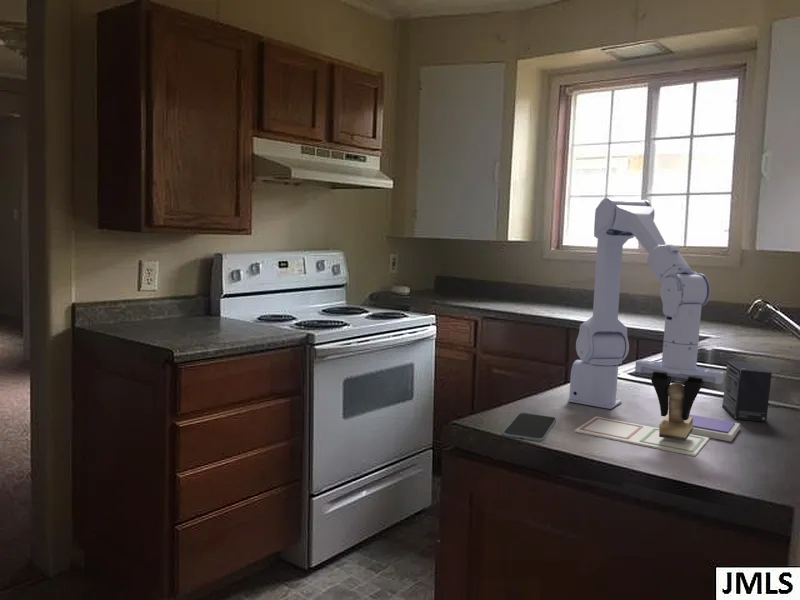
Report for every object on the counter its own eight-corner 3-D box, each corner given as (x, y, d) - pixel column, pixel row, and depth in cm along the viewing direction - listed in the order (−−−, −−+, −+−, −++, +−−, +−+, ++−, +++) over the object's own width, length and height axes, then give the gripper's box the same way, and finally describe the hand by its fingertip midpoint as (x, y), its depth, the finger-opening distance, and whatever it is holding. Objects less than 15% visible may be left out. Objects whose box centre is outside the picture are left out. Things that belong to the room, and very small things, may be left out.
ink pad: (673, 430, 130) (674, 423, 130) (684, 419, 138) (685, 412, 138) (731, 441, 125) (731, 433, 125) (739, 429, 133) (740, 422, 132)
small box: (769, 423, 138) (774, 371, 137) (734, 420, 140) (739, 369, 138) (753, 409, 149) (758, 361, 147) (721, 406, 150) (725, 359, 149)
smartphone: (501, 433, 124) (519, 412, 137) (500, 438, 124) (519, 416, 138) (542, 439, 121) (557, 417, 135) (542, 444, 121) (557, 422, 135)
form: (574, 431, 128) (574, 429, 127) (595, 417, 137) (596, 415, 137) (695, 456, 116) (695, 454, 116) (709, 439, 126) (709, 437, 126)
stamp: (659, 436, 123) (659, 386, 121) (667, 426, 128) (668, 377, 126) (685, 441, 120) (686, 389, 119) (692, 429, 125) (693, 380, 124)
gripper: (632, 339, 122) (627, 414, 124) (721, 350, 114) (714, 429, 116) (643, 335, 128) (638, 406, 130) (728, 344, 120) (721, 420, 122)
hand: (674, 417), depth 123 cm, fingers closed on stamp, 3 cm apart
